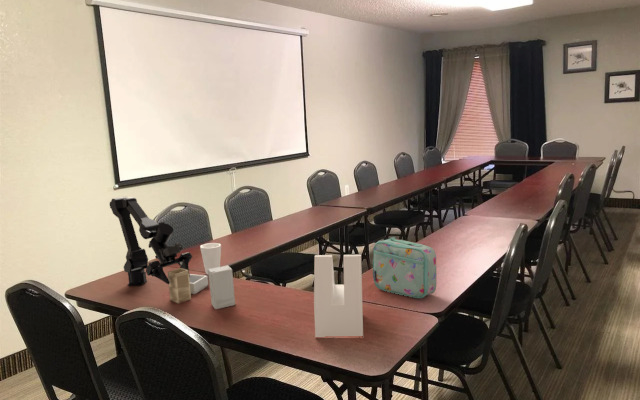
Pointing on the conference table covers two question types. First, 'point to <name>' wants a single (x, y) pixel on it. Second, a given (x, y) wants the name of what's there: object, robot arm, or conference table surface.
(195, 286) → the white tray
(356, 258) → the white notched block
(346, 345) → the conference table surface
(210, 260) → the foam cup
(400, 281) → the lunch box
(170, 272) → the birch caddy
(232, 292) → the skincare box
